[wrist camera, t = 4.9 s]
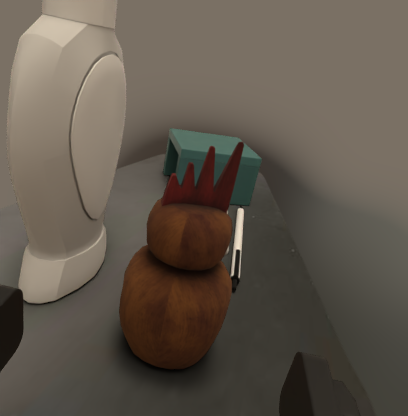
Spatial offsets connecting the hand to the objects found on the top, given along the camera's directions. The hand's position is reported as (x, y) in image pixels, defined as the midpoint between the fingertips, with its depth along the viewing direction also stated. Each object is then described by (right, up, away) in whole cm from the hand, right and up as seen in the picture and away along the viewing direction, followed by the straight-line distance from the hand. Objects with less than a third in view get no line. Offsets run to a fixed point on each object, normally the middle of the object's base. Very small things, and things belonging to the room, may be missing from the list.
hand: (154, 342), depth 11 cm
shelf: (+1, +7, +44) cm, 44 cm away
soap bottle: (-11, -1, +21) cm, 24 cm away
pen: (+5, 0, +31) cm, 31 cm away
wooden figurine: (-1, -6, +15) cm, 16 cm away
